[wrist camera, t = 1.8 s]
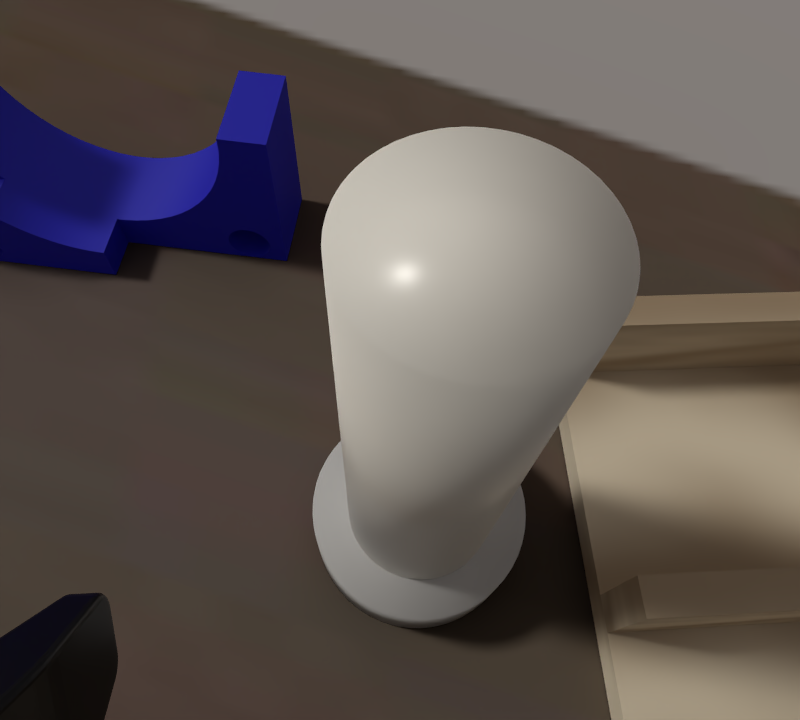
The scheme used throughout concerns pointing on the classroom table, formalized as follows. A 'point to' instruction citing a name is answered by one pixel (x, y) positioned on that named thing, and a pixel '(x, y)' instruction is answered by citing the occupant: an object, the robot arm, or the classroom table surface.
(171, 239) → the blue curved cradle
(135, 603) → the classroom table surface
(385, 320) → the white bulb knob
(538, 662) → the classroom table surface
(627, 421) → the slot rack
